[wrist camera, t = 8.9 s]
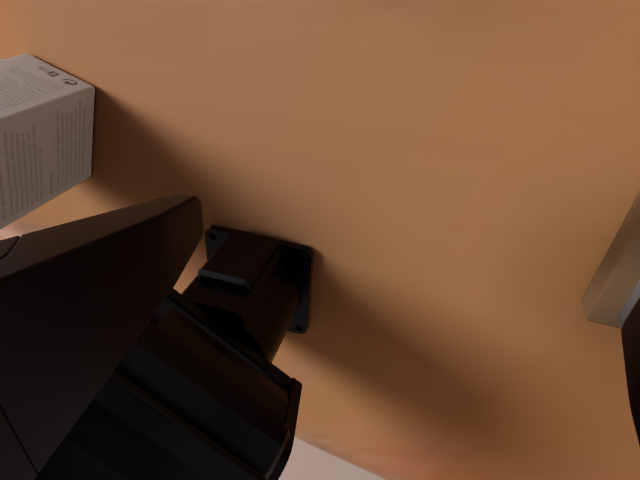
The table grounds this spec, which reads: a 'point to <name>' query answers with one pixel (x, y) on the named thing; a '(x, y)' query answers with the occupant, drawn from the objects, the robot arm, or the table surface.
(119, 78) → the table surface
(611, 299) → the cracker base
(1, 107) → the skincare box
